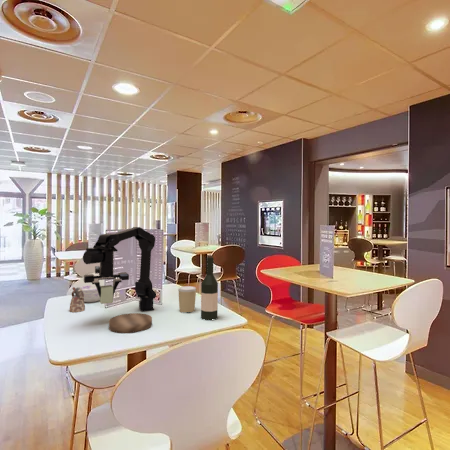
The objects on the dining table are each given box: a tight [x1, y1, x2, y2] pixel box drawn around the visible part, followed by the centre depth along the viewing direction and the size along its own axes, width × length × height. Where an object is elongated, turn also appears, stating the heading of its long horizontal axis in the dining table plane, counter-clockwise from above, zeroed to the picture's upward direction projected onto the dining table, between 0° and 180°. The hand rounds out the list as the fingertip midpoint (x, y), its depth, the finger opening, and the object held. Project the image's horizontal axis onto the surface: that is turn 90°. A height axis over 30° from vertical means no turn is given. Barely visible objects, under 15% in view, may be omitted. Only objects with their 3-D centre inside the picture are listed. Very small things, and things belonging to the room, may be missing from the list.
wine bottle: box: [200, 255, 219, 321], centre depth 147 cm, size 8×8×30 cm
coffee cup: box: [177, 285, 197, 313], centre depth 158 cm, size 9×9×12 cm
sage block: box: [99, 284, 114, 305], centre depth 137 cm, size 5×5×7 cm
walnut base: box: [108, 312, 153, 334], centre depth 133 cm, size 18×18×3 cm
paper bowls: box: [78, 284, 102, 303], centre depth 177 cm, size 15×15×8 cm
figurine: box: [69, 286, 86, 313], centre depth 156 cm, size 7×7×12 cm
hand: (106, 296), depth 137 cm, fingers closed on sage block, 5 cm apart
